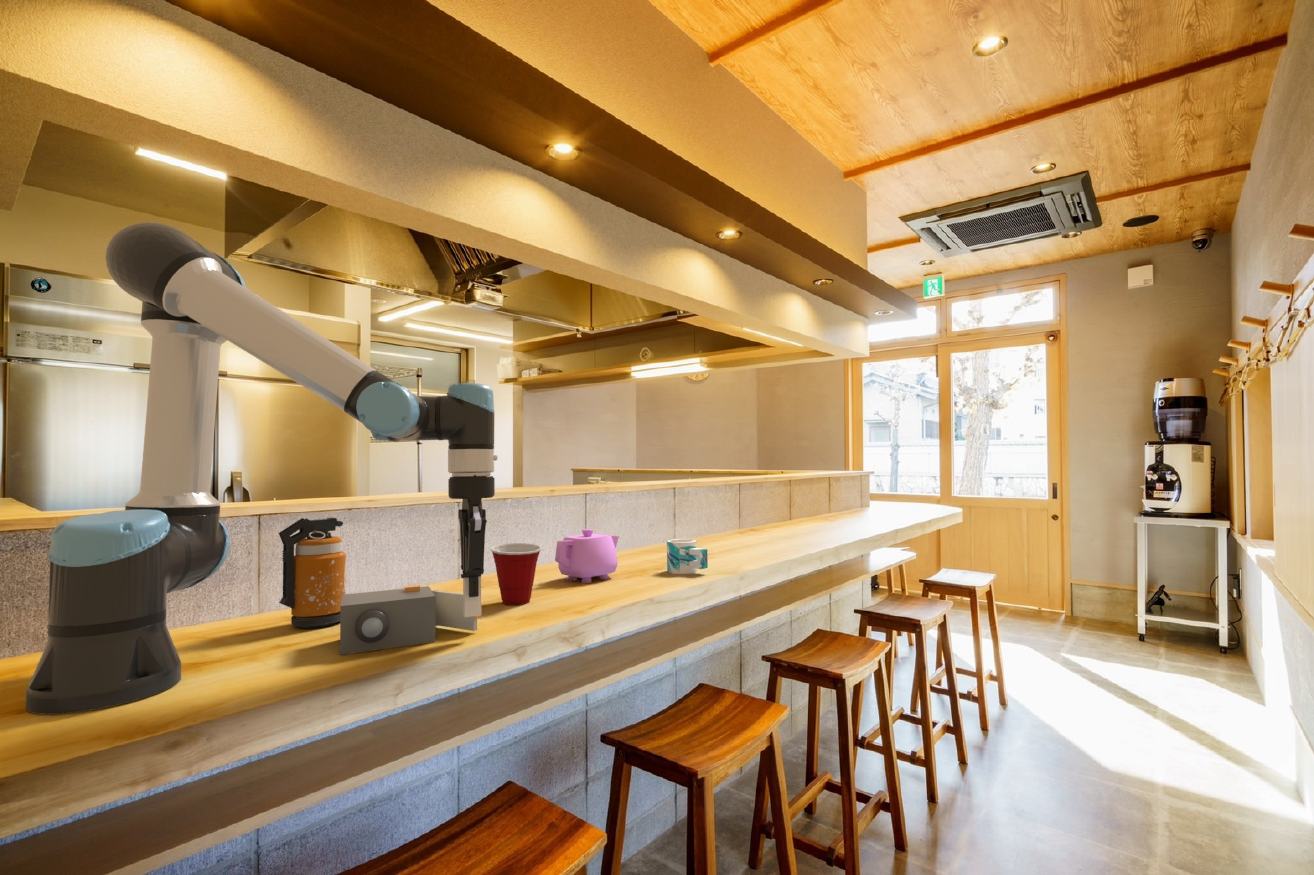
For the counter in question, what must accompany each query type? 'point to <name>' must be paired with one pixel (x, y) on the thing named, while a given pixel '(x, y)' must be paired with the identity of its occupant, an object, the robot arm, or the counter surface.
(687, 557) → the mug
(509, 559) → the plastic cup
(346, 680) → the counter surface
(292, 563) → the canister
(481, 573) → the robot arm
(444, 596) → the side door
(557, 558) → the teapot
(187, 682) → the counter surface
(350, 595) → the camera body
